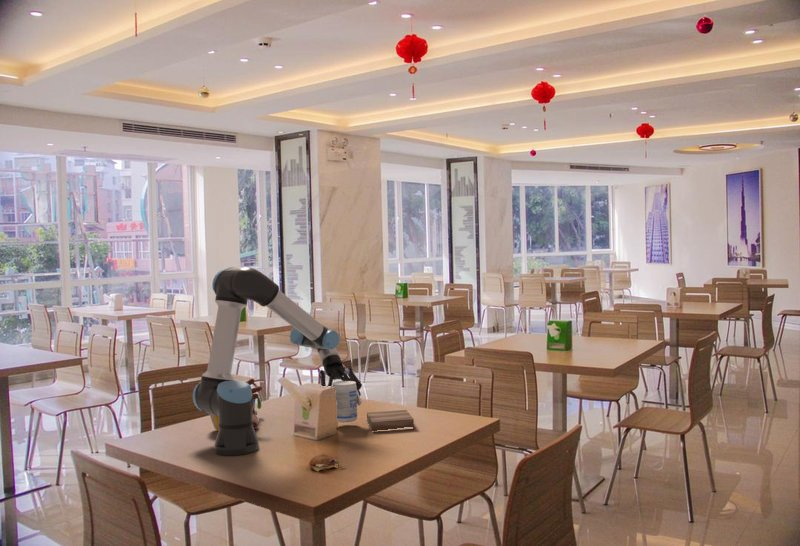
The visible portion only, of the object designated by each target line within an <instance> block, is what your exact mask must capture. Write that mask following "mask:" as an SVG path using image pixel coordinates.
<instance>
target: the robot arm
mask: <svg viewBox="0 0 800 546" xmlns="http://www.w3.org/2000/svg"><path fill="white" fill-rule="evenodd" d="M211 287H212V291H213V292H214V295H215V299H214V302H215V303H216V305H217V307H218V308H217V313H216V319H215V323H214V330H213V333H212V334H213V336H212V339H211V346H210V353H209V356H208V357H209V358H208V364H207V370H206V371H205V372H204V373H203V374H201V379H200V382H198V384H196V385H195V387H194V389H193V390H192V401H193V404H194V406H195V407H196V408H197V410H199V411H200V412H202V413H204V414H206V415H210V414H211V415H215V416H218V419H219V431H218V432H217V435H216V438H215V441H214V446H213V448H214V453H215V454H216V455H220V456H227V457H228V456H230V457H231V456H241V455H246V454H251V453H254V452H256V451H257V450H258V449H259V447H260V446H259V445H260V442H259V439H258V436H257V433H256V431H255V428H253V413H252V390H251V388H252V386H251V385H249V384H248V383H246V382H247V381H243V380H242V381H241V380H235V378H234V377H233V375H232V370H233V364H234V359H235V353H236V346H237V340H238V336H239V335H238V333H239V328H240V323H241V318H242V317H241V316H242V311H243V309H244V308H246V307H247V306H248V301H252V302H255V303H257V304H258V305H259V306H261V307H262V308H263V307H264V308H265V307H267V308H268V309H269V310H270V311H272V312H273V313H275V315H277V316H278V317H280V318H281V319H282V320H283V321H285V322H286V323H287V324H288V325H290V326H292V327H293V328H292V329H291V331H290V334H289V340H290V342H291V343H292V344H293V345H296V346H301V347H305V348H310V349H315V350H316V351H317V352H318V356H319V358H320V361H321V363H322V366H323V369H324V370H323V369H321V370H320V371H319V372H318V376H319V379H320V386H321V385H322V386H326V387H328V386H331V388H332V386H333V383H334V381H335V380H340V381H354V382H356V387H357V407H358V406H359V407H360V406H361V405H362V402H363V400H362V398H361V395H362V394H361V391H360V390H361V388H362V387H363V384H362V383H361V381H360V380H359V379H358V376H357V375H356V374H355V373H354V371H353V368H352V367H351V366H349V367H348V368H345V367H344V365H343V362H342V360H341V357H340V354H339V352H338V349H337V347H338V346H339V344H340V342H341V341H340V340H341V338H340V335H339V332H338V331H336V330H334V329H330V328H329V327H327V326H325V325H323V324H321V322H319V321H318V320H317V319H315V318H314V317H313V316H312V315H311V314H309V312H307V311H306V310H305V309H303V308H302V306H299V304H298V303H296V302H295V301H293V299H291V298H290V297H289V296H288V295H286V294H285V293H283V292H282V290H280V286H279V285H278V284H277V283H276V282H274V281H273V280H272V279H271V278H270V277H268V276H267V275H265V274H264V273H263V272H261V271H259V270H257V269H255V268H252V267H235V266H233V267H232V266H231V267H226V268H223V269H220V271H218V272H217V273H216V274H215V276H214V277H213V280H212V286H211ZM326 376H327V377H329V378H328V384H326ZM336 406H338V403H337V400H336Z"/></svg>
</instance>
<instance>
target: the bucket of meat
mask: <svg viewBox="0 0 800 546" xmlns="http://www.w3.org/2000/svg"><path fill="white" fill-rule="evenodd" d="M245 382H246V383H248V384H249V385H250V386H251V385H253V384H254V383H255V379H254V378H250V379H249V380H247V381H245ZM262 389H263V387H262V386H260V385H258V386H256V387H253V388H252V387H251V390H252V400H253V399H256V400H257V398H258V397H259V398H260V394H259V392H261V391H262ZM252 413H253V428H254V429H257V428H259V427H260V425H259V417H258V416H257V415H258V411H257V410H255V408H254V407H253V401H252ZM209 416H210V419H211V423H212V424H213V425H212V426H213V427H214V429H215V431H219V419H218V416H215V415H211V414H209Z"/></svg>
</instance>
